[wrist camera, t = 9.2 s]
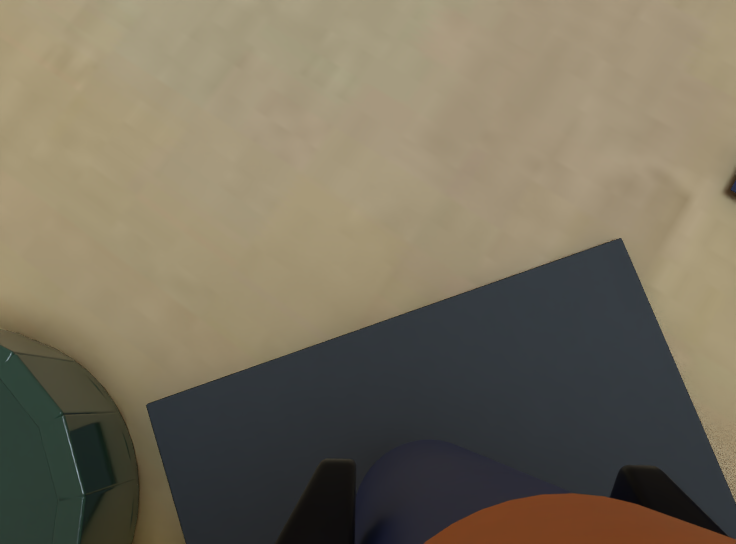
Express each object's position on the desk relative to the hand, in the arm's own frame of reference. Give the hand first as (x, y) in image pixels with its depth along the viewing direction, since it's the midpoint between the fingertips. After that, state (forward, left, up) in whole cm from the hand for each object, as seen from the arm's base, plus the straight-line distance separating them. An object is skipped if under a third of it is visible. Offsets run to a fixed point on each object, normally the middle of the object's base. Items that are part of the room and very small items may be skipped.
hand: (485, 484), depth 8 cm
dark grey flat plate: (-2, -1, -14) cm, 14 cm away
